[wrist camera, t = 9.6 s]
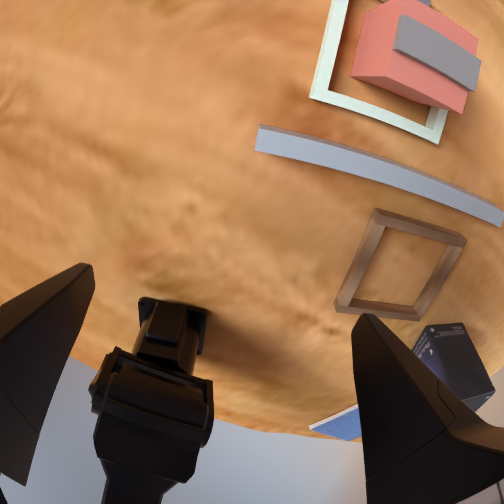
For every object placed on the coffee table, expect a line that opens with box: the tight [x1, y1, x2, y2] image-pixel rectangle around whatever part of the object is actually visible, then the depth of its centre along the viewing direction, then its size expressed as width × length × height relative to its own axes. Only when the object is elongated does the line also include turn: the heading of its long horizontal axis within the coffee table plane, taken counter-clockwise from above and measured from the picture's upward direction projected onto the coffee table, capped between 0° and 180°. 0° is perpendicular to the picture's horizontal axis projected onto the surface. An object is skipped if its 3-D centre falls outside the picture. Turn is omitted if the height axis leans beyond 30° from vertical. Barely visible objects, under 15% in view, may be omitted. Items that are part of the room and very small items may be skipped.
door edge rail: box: [255, 124, 504, 227], centre depth 19 cm, size 1×22×2 cm, turn 79°
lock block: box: [350, 0, 481, 115], centre depth 12 cm, size 5×5×7 cm
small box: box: [412, 323, 495, 412], centre depth 26 cm, size 11×6×10 cm, turn 178°
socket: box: [309, 0, 448, 144], centre depth 14 cm, size 11×10×1 cm
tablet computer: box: [309, 403, 362, 441], centre depth 39 cm, size 19×13×1 cm, turn 137°
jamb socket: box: [334, 208, 467, 321], centre depth 23 cm, size 10×10×1 cm
